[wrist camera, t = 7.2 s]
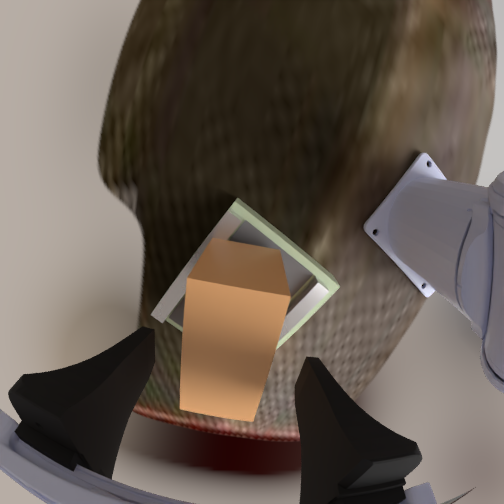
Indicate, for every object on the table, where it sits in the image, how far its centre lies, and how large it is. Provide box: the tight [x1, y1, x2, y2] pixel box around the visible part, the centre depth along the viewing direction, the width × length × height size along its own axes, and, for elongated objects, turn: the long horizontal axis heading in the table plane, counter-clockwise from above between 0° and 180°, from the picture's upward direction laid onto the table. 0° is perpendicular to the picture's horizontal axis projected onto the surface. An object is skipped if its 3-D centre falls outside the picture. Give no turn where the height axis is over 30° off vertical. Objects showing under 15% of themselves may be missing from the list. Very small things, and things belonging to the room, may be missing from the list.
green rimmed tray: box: [151, 198, 340, 349], centre depth 19 cm, size 9×10×3 cm
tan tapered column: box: [180, 238, 291, 422], centre depth 14 cm, size 4×9×6 cm, turn 170°
